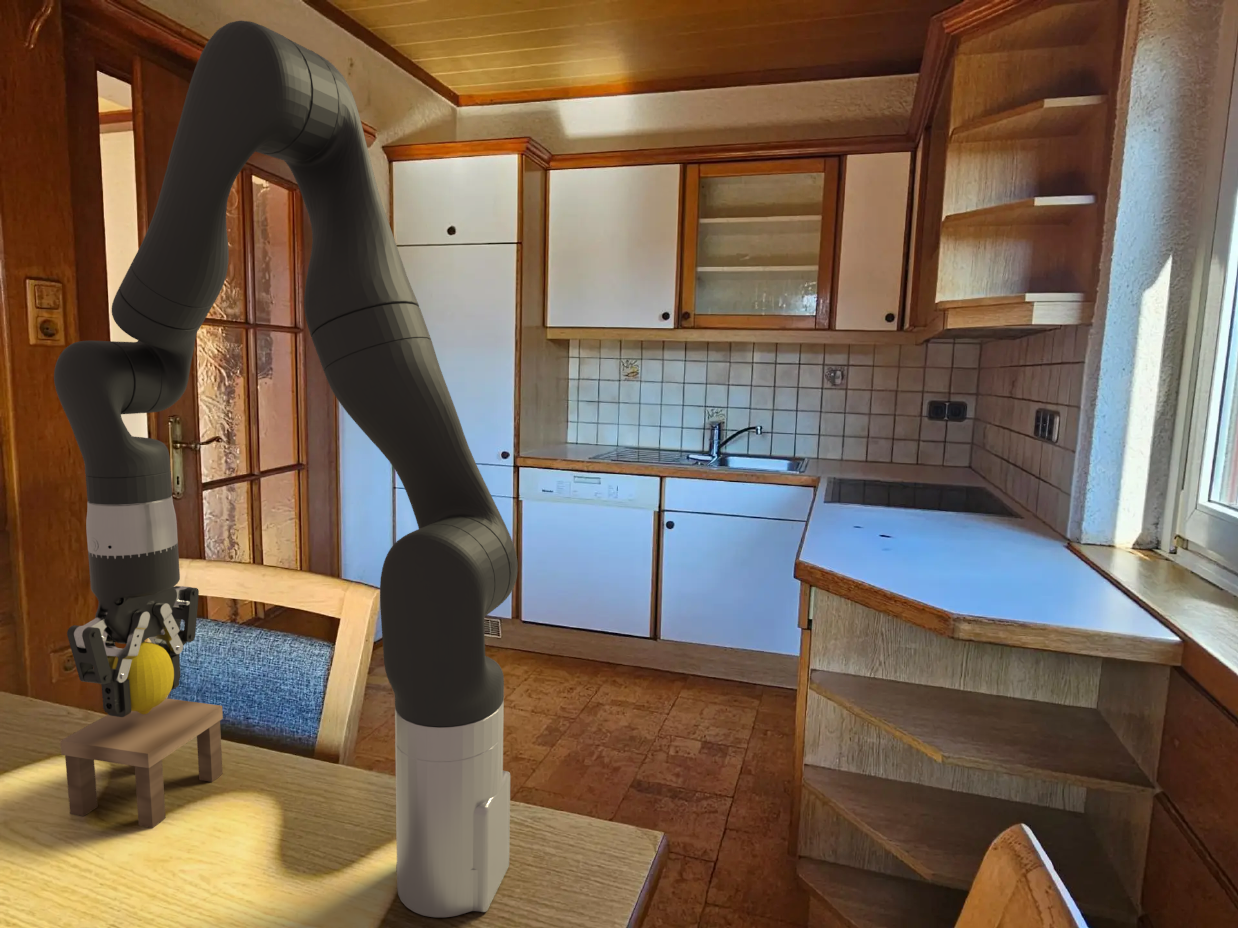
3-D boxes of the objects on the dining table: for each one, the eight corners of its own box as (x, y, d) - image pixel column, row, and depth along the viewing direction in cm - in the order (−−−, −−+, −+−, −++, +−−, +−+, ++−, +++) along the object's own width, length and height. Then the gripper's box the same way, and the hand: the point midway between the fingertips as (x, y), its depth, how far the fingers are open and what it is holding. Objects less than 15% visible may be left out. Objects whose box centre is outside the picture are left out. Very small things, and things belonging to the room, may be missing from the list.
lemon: (145, 730, 72) (140, 653, 71) (99, 723, 73) (92, 647, 72) (188, 704, 78) (184, 633, 76) (144, 698, 79) (139, 628, 77)
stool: (225, 772, 81) (222, 705, 80) (152, 829, 71) (147, 753, 70) (147, 761, 82) (143, 695, 81) (66, 814, 73) (60, 740, 72)
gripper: (103, 565, 65) (116, 740, 68) (218, 529, 79) (226, 675, 81) (33, 558, 66) (48, 730, 69) (158, 524, 80) (167, 668, 83)
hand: (144, 699), depth 75 cm, fingers closed on lemon, 5 cm apart
